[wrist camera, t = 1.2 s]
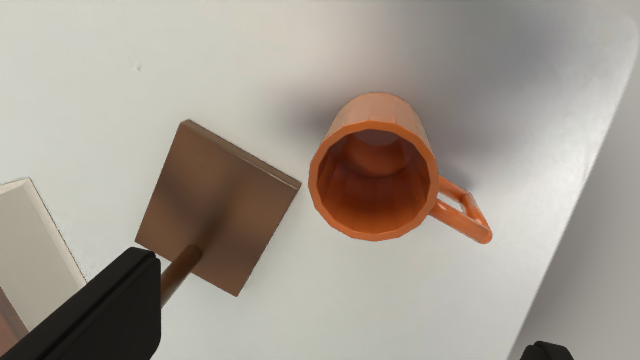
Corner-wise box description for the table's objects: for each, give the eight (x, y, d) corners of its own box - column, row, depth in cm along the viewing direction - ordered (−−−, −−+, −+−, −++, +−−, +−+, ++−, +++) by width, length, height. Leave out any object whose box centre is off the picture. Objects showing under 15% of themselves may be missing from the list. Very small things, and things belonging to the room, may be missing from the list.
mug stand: (187, 118, 30) (9, 200, 16) (301, 183, 30) (228, 318, 16) (141, 234, 34) (-27, 377, 20) (241, 289, 35) (143, 465, 21)
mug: (315, 152, 29) (287, 202, 21) (359, 74, 26) (348, 95, 18) (439, 223, 29) (460, 299, 21) (494, 152, 27) (543, 208, 19)
